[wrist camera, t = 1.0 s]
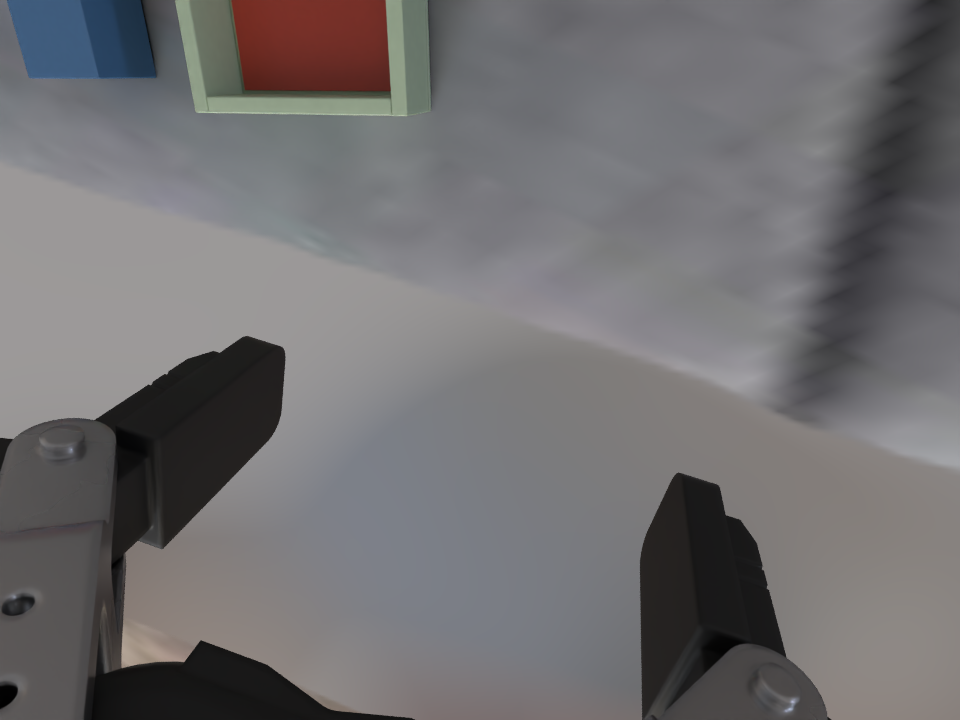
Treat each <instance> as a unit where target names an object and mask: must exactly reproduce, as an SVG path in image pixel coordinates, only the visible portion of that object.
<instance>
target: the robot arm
mask: <svg viewBox="0 0 960 720" xmlns="http://www.w3.org/2000/svg"><path fill="white" fill-rule="evenodd" d="M284 370H285V351H284V349H283V348H282V347H281V346H278V345H274V344H271V343H268V342H265V341H262V340H258V339H255V338H252V337H249V336H245V337H242V338H241V339H239V340H238V341H236V342H235V343H233V344H232V345H230V346H229V347H228V348H226V349H225V350H223V351H222V352H220V353H218V352H215V351H212V352H209V353H205V354H202V355H199V356H196V357H192V358H189V359H187V360H185V361H184V362H182V363H181V364H179V365H178V366H176V367H175V368H173V369H172V370H170V371H169V372H168V374H167V375H166V374H164V375H162V376H161V377H159V378H158V379H156V380H155V381H153V383H152V385H147V386H146V387H144V388H143V389H141V390H140V391H138V392H137V393H135V394H134V395H132V396H130V397H129V398H127V399H126V400H125V401H123V402H121V403H120V404H118V405H117V406H115V407H114V408H112V409H111V410H109V411H108V412H106V413H105V414H103V415H102V416H100V417H99V418H97V419H96V420H90V419H82V418H81V419H80V418H67V419H58V420H52V421H48V422H44V423H41V424H38V425H36V426H33V427H31V428H29V429H27V430H25V431H24V432H22V433H20V434H19V435H18V436H16V437H15V438H14V439H5V438H0V720H414V719H412V718H405V717H394V716H383V715H373V714H362V713H352V712H341V711H334V710H330V709H328V708H326V707H324V706H322V705H321V704H320V703H318V702H317V701H316V700H314V699H313V698H312V697H310V696H309V695H307V694H306V693H305V692H303V691H302V690H301V689H299V688H298V687H297V686H295V685H294V684H293V683H291V682H290V681H288V680H287V679H286V678H284V677H283V676H282V675H280V674H279V673H278V672H276V671H275V670H273V669H272V668H271V667H269V666H268V665H266V664H263V663H261V662H258V661H255V660H253V659H250V658H247V657H244V656H242V655H239V654H236V653H234V652H231V651H228V650H225V649H223V648H220V647H218V646H215V645H212V644H209V643H206V642H204V641H200V642H199V643H198V645H197V646H196V647H195V649H194V650H193V651H192V653H191V654H190V655H189V657H188V658H187V659H186V661H185V662H154V663H147V664H139V665H134V666H130V667H125V668H121V650H122V631H123V611H124V594H125V575H126V556H125V552H126V551H127V550H128V549H129V548H130V547H132V545H134V544H135V543H136V542H137V541H140V542H143V543H146V544H149V545H152V546H154V547H158V548H160V549H163V548H164V547H165V546H166V545H167V544H168V543H169V542H170V541H171V540H172V539H173V538H174V537H175V536H176V535H177V534H178V533H179V532H180V531H181V530H182V529H183V528H184V527H185V525H187V523H189V521H190V520H191V519H192V518H193V517H194V516H195V515H196V514H197V513H198V512H199V511H200V510H201V509H202V508H203V507H204V506H205V505H206V504H207V503H208V502H209V501H210V500H211V499H212V498H213V497H214V496H215V495H216V494H217V493H218V492H219V491H220V490H221V489H222V487H223V486H225V485H226V483H227V482H228V481H229V480H230V479H231V478H232V477H233V476H234V475H235V474H236V473H237V472H238V471H239V470H240V469H241V468H242V467H243V466H244V465H245V464H246V463H247V462H248V461H249V460H250V459H251V458H252V457H253V456H254V455H255V454H256V453H257V452H258V451H259V449H261V447H263V445H264V444H265V443H266V442H267V441H268V440H269V439H270V438H271V436H272V435H273V433H274V432H275V430H276V428H277V425H278V423H279V419H280V416H281V409H282V396H283V384H284V383H283V382H284ZM640 593H641V594H640V596H641V660H642V661H641V663H642V720H831V719H830V718H828V717H827V711H826V707H825V704H824V702H823V699H822V697H821V695H820V694H819V692H818V690H817V688H816V687H815V685H814V684H813V683H812V681H811V680H810V679H809V678H808V677H807V676H806V675H805V673H804V672H803V671H802V670H801V669H800V668H798V667H797V666H796V665H795V664H794V663H793V662H791V661H790V660H789V659H787V658H786V654H785V650H784V647H783V642H782V638H781V635H780V631H779V627H778V623H777V619H776V615H775V612H774V608H773V604H772V600H771V596H770V592H769V590H768V589H767V581H766V577H765V574H764V571H763V570H762V562H761V558H760V554H759V550H758V547H757V543H756V542H755V540H754V539H753V537H752V536H751V534H750V533H749V532H748V530H747V529H746V527H745V526H744V525H743V523H742V522H741V520H739V519H736V518H733V517H729V516H726V515H725V511H724V505H723V501H722V496H721V491H720V487H719V486H718V485H717V484H714V483H710V482H707V481H704V480H701V479H698V478H694V477H691V476H688V475H685V474H682V473H677V474H676V475H675V476H674V477H673V479H672V481H671V483H670V485H669V487H668V489H667V491H666V493H665V495H664V498H663V500H662V502H661V504H660V506H659V508H658V510H657V512H656V514H655V516H654V519H653V521H652V523H651V525H650V527H649V529H648V531H647V534H646V537H645V540H644V543H643V547H642V552H641V558H640Z"/></svg>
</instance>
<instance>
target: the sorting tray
mask: <svg viewBox="0 0 960 720" xmlns="http://www.w3.org/2000/svg"><path fill="white" fill-rule="evenodd" d="M175 3H176V8H177V14H178V19H179V25H180V30H181V36H182V41H183V46H184V52H185V57H186V63H187V68H188V73H189V79H190V84H191V90H192V95H193V100H194V106H195V111H196V112H197V113H249V114H312V115H375V116H392V115H393V116H409V115H415V114H420V113H425V112H430V111H431V91H430V59H429V27H428V0H175Z"/></svg>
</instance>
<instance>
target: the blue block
mask: <svg viewBox="0 0 960 720" xmlns="http://www.w3.org/2000/svg"><path fill="white" fill-rule="evenodd" d="M7 3H8V6H9V10H10V13H11V17H12V20H13V24H14V27H15V31H16V34H17V38H18V41H19V44H20V48H21V51H22V55H23V58H24V62H25V65H26V69H27V72H28V76H29V78H66V79H108V78H156V73H155V68H154V63H153V58H152V53H151V48H150V44H149V39H148V34H147V29H146V24H145V19H144V14H143V10H142V5H141V0H7Z"/></svg>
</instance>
